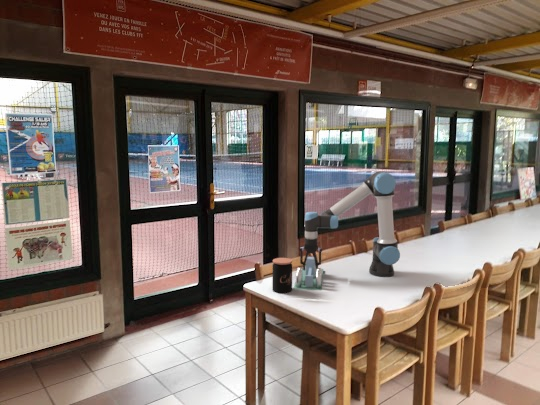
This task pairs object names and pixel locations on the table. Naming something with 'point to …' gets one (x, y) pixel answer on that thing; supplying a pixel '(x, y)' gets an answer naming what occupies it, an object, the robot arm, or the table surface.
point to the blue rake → (310, 271)
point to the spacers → (300, 277)
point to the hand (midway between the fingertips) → (310, 275)
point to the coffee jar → (282, 275)
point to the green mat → (307, 286)
